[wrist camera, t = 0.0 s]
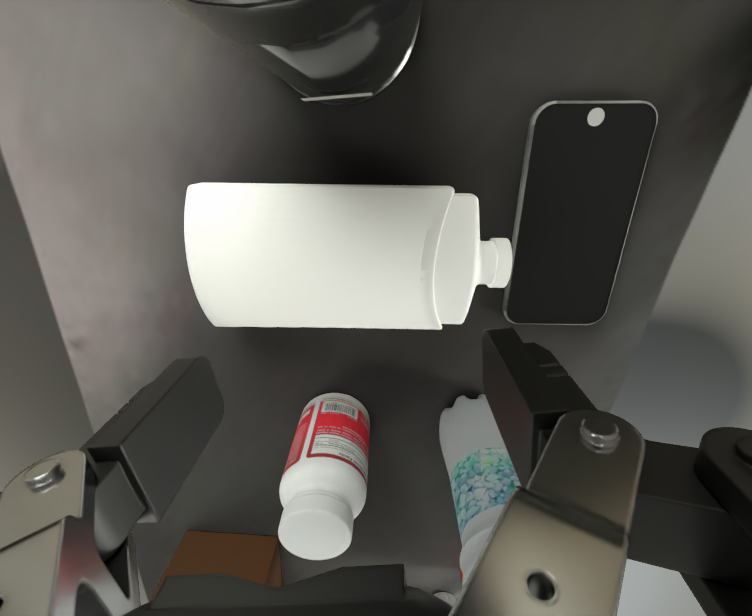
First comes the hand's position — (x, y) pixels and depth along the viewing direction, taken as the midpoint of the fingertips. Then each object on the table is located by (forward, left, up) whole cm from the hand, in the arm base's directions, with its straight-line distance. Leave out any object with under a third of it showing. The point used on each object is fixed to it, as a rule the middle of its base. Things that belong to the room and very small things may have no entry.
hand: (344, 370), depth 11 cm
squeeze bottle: (+1, -1, -17) cm, 17 cm away
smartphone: (+1, +14, -17) cm, 22 cm away
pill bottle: (+16, -5, -17) cm, 24 cm away
